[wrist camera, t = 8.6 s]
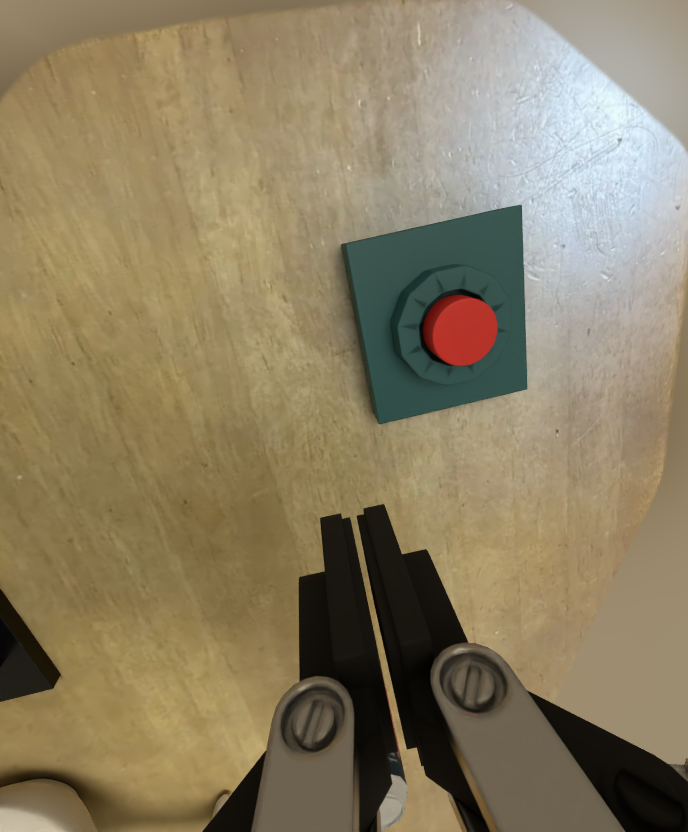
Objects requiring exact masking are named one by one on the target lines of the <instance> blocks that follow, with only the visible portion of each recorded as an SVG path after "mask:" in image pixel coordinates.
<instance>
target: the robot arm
mask: <svg viewBox="0 0 688 832" xmlns="http://www.w3.org/2000/svg"><path fill="white" fill-rule="evenodd" d="M357 520H358V525H359V530H360V535H361V540H362V545H363V550H364V555H365V560H366V565H367V570H368V575H369V580H370V585H371V590H372V595H373V600H374V605H375V609H376V614H377V618H378V623H379V627H380V632H381V636H382V641H383V645H384V650H385V654H386V659H387V663H388V668H389V672H390V676H391V681H392V685H393V690H394V694H395V699H396V703H397V708H398V712H399V717H400V721H401V726H402V730H403V735H404V739H405V744H406V748H407V749H411V748H416V747H417V750H418V754H419V758H420V762H421V766H424V770H425V775H426V776H427V777H428V778H430V779H431V780H432V781H434V782H435V783H436V784H438V785H439V786H440V787H442V788H443V789H444V790H446V791H447V794H448V797H449V801H450V803H451V806H452V808H453V810H454V813H455V815H456V818H457V820H458V823H459V825H460V827H461V830H462V832H688V759H687V758H686V761H685V765H677V764H667V763H666V762H664V761H662V760H661V759H659V758H658V757H656V756H655V755H653V754H651V753H649V752H647V751H645V750H643V749H641V748H639V747H637V746H635V745H633V744H631V743H629V742H627V741H625V740H623V739H621V738H619V737H617V736H616V735H614V734H612V733H609V732H608V731H606V730H604V729H602V728H600V727H598V726H596V725H594V724H592V723H590V722H588V721H586V720H584V719H582V718H580V717H578V716H576V715H574V714H572V713H570V712H568V711H566V710H564V709H562V708H560V707H558V706H557V705H554V704H553V703H551V702H549V701H547V700H545V699H543V698H541V697H539V696H537V695H535V694H533V693H531V692H529V691H527V690H526V689H525V687H524V686H523V685H522V683H521V682H520V680H519V679H518V677H517V676H516V675H515V673H514V672H513V670H512V669H511V667H510V666H509V665H508V664H507V662H506V661H505V660H504V659H503V658H502V657H501V656H500V655H499V654H497V653H496V652H494V651H493V650H491V649H490V648H488V647H485V646H482V645H479V644H476V643H468V641H467V638H466V636H465V634H464V632H463V629H462V627H461V625H460V623H459V620H458V618H457V616H456V614H455V611H454V609H453V607H452V604H451V602H450V600H449V598H448V595H447V593H446V591H445V589H444V586H443V584H442V582H441V580H440V577H439V575H438V573H437V571H436V568H435V566H434V564H433V562H432V559H431V557H430V555H429V553H428V551H427V550H426V549H425V550H420V551H416V552H411V553H407V554H402V553H401V550H400V548H399V545H398V542H397V539H396V536H395V533H394V531H393V528H392V525H391V522H390V519H389V516H388V514H387V511H386V508H385V505H384V504H382V505H377V506H373V507H368V508H364V514H363V515H358V516H357ZM320 523H321V533H322V544H323V555H324V566H325V572H320V573H316V574H311V575H307V576H302V577H300V578H299V663H300V682H299V683H297V684H295V685H293V686H292V687H291V688H290V689H289V690H288V691H287V692H286V693H285V694H284V695H283V697H282V698H281V700H280V701H279V703H278V705H277V706H276V709H275V712H274V715H273V718H272V723H271V728H270V734H269V739H268V744H267V750H266V751H265V752H264V754H263V755H262V756H261V757H260V759H259V760H258V761H257V763H256V764H255V765H254V766H253V768H252V769H251V770H250V772H249V773H248V774H247V775H246V777H245V778H244V779H243V780H242V782H241V783H240V784H239V786H238V787H237V788H236V789H235V791H234V792H233V793H232V795H231V796H230V797H229V798H228V800H227V801H226V802H225V803H224V805H223V806H222V807H221V809H220V810H219V811H218V812H217V814H216V815H215V816H214V817H213V819H212V820H211V821H210V823H209V824H208V825H207V826H206V828H205V829H204V830H203V832H381V815H380V809H379V808H380V806H381V804H382V802H383V801H384V799H385V797H386V795H387V793H388V791H389V789H390V787H391V786H392V784H393V783H392V778H391V773H392V772H391V766H390V761H389V755H388V754H390V753H394V752H398V747H397V742H396V737H395V733H394V728H393V723H392V718H391V713H390V708H389V703H388V699H387V694H386V689H385V684H384V679H383V674H382V669H381V665H380V660H379V655H378V650H377V645H376V640H375V635H374V631H373V626H372V621H371V616H370V611H369V606H368V601H367V597H366V592H365V587H364V582H363V577H362V573H361V568H360V563H359V558H358V553H357V548H356V544H355V539H354V534H353V529H352V524H351V520H350V517H349V518H344V519H342V516H341V513H340V514H335V515H331V516H326V517H322V518H320Z"/></svg>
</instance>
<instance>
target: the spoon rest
mask: <svg viewBox="0 0 688 832" xmlns="http://www.w3.org/2000/svg"><path fill="white" fill-rule="evenodd" d="M228 798H229V795H228V794H224V795H222V796H221V797H220V798H219V799H218V801H217V803H216V805H215V808H214V811H213V815H212V818H211V820H212V819H213V817H214V816H215V815H216V814H217V812H218V811H219V810H220V809H221V807H222V806H223V805H224V803H225V802H226V801H227V800H228ZM0 832H97V830H96V827H95V825H94V823H93V820H92V818H91V816H90V814H89V812H88V810H87V808H86V806H85V805H84V803H83V802H82V801H81V799H80V798H79V796H78V794H77V792H76V791H75V790H74V789H73V788H72V787H70V786H69V785H67V784H65V783H62V782H59V781H56V780H51V779H33V780H28V781H25V782H21V783H15V784H11V785H8V786H4V787H2V788H0Z"/></svg>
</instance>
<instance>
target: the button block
mask: <svg viewBox="0 0 688 832" xmlns="http://www.w3.org/2000/svg"><path fill="white" fill-rule="evenodd" d="M341 247H342V253H343V258H344V263H345V268H346V274H347V279H348V284H349V289H350V294H351V300H352V305H353V310H354V315H355V321H356V326H357V331H358V336H359V341H360V347H361V352H362V357H363V362H364V368H365V373H366V378H367V383H368V388H369V394H370V399H371V404H372V409H373V413H374V415H375V417H376V419H377V421H378V423H379V424H383V423H387V422H391V421H395V420H400V419H404V418H408V417H412V416H416V415H421V414H425V413H429V412H433V411H437V410H442V409H446V408H450V407H454V406H459V405H463V404H467V403H471V402H475V401H480V400H484V399H488V398H492V397H496V396H501V395H505V394H509V393H513V392H517V391H522V390H526V389H527V362H526V330H525V297H524V265H523V232H522V206H521V205H517V206H512V207H506V208H501V209H497V210H493V211H488V212H484V213H479V214H475V215H470V216H466V217H461V218H457V219H452V220H448V221H443V222H439V223H434V224H430V225H425V226H421V227H416V228H412V229H407V230H403V231H398V232H394V233H389V234H385V235H380V236H376V237H371V238H367V239H362V240H358V241H353V242H349V243H344V244H342V245H341ZM451 295H464V296H468V297H471V298H475V299H479V300H481V301H483V302H485V303H486V304H487V305H488V306H490V308H491V309H492V310H493V312H494V314H495V316H496V320H497V336H496V340H495V342H494V344H493V346H492V348H491V349H490V351H489V352H488V353H487V354H486V355H485V356H484V357H483V358H482V359H480V360H479V361H477V362H475V363H473V364H470V365H466V366H454V365H451V364H448V363H446V362H444V361H443V360H442V359H440V358H439V357H438V356H436V355H435V354H434V353H432V352H431V351H430V350H429V348H428V347H427V345H426V343H425V340H424V336H423V325H424V321H425V318H426V316H427V314H428V312H429V310H430V309H431V308H432V307H433V306H434V305H435V304H436V303H437V302H438V301H440V300H441V299H443V298H445V297H448V296H451Z"/></svg>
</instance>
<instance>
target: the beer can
mask: <svg viewBox="0 0 688 832" xmlns="http://www.w3.org/2000/svg"><path fill="white" fill-rule="evenodd" d="M377 650H378V649H377ZM378 655H379V654H378ZM379 660H380V659H379ZM380 665H381V663H380ZM381 669H382V668H381ZM382 674H383V673H382ZM383 679H384V677H383ZM384 684H385V682H384ZM385 689H386V686H385ZM386 694H387V691H386ZM387 699H388V696H387ZM388 703H389V700H388ZM389 708H390V705H389ZM390 713H391V710H390ZM391 718H392V714H391ZM392 723H393V719H392ZM393 728H394V724H393ZM394 733H395V728H394ZM395 737H396V733H395ZM396 742H397V738H396ZM397 747H398V742H397ZM388 755H389V761H390V766H391V772H392V773H391V778H392V783H393V784H392V786H391V787H390V789H389V791H388V793H387V795H386V797H385V799H384V801H383V802H382V804H381V806H380V808H379V809H380V815H381V831H383V830H386V829H388V828H389V827H391V826H393V825H394V824H396V823H397V822H399V821H400V820H401V818H402V815H403V813H404V811H405V803H406V798H407V784H406V779H405V775H404V770H403V765H402V761H401V756H400V751H399V747H398V752H394V753H390V754H388Z"/></svg>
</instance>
